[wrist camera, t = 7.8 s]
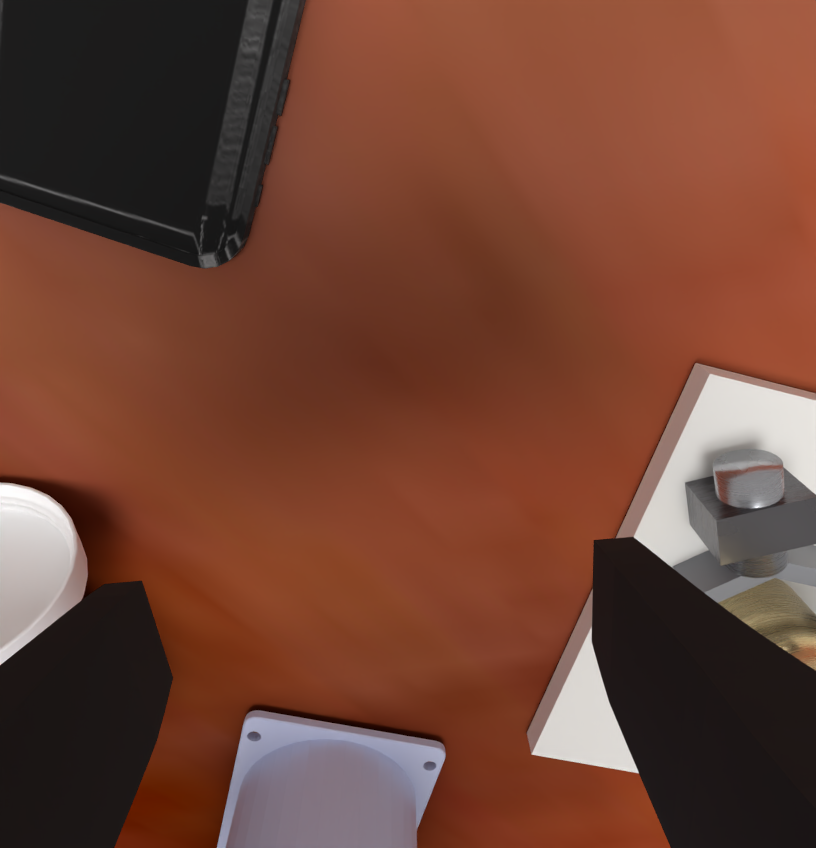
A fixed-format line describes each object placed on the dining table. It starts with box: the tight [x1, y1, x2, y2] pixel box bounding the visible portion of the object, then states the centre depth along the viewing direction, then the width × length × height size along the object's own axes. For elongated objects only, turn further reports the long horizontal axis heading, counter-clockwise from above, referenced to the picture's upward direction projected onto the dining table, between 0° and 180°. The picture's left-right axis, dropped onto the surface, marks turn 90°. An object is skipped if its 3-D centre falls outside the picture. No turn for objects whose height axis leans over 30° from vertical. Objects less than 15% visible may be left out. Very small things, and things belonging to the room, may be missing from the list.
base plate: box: [527, 363, 816, 773], centre depth 22 cm, size 16×10×3 cm, turn 166°
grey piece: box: [685, 449, 816, 578], centre depth 20 cm, size 3×3×2 cm
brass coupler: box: [718, 578, 816, 670], centre depth 20 cm, size 4×4×7 cm
